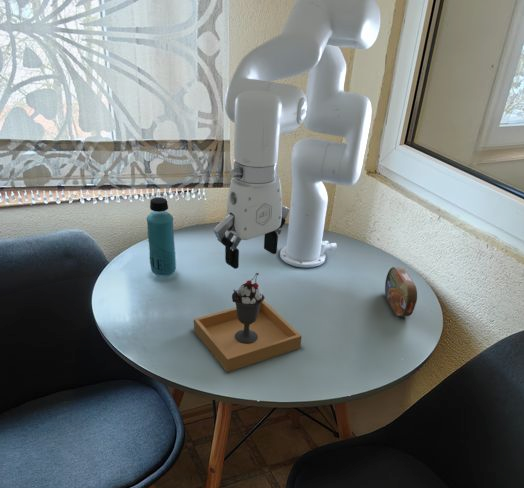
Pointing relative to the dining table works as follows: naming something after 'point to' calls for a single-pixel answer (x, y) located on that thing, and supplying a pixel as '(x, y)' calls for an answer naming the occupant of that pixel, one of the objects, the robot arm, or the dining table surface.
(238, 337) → the sundae
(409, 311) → the tin
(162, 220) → the beverage bottle
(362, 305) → the dining table surface
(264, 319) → the tray
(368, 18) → the robot arm
